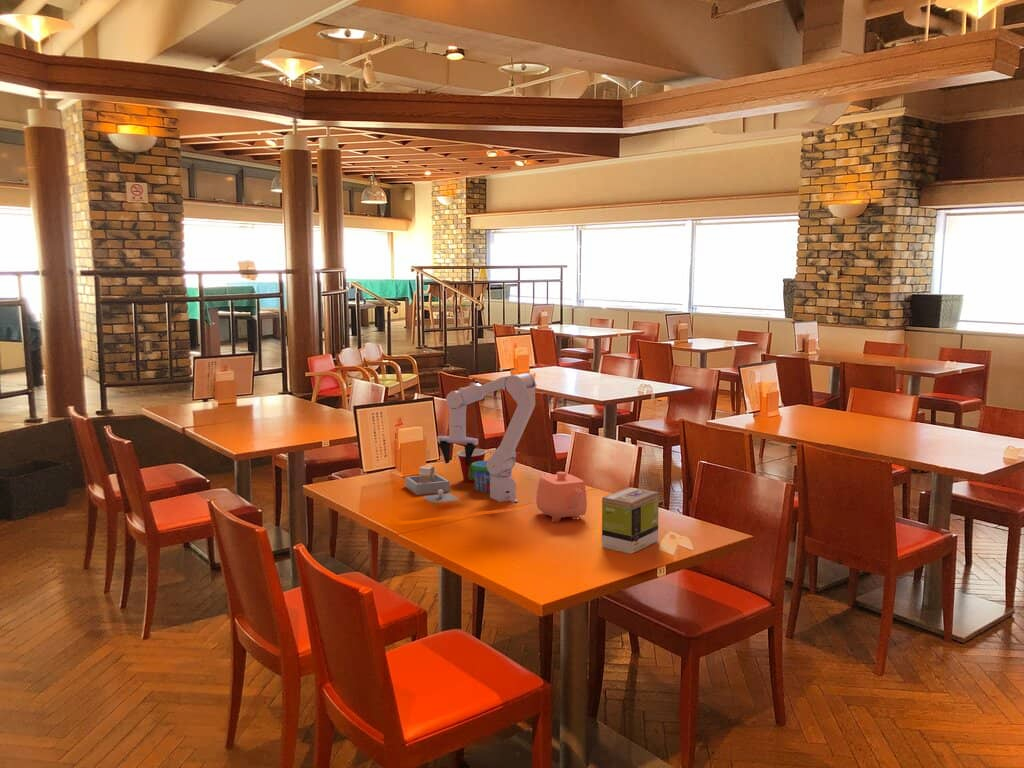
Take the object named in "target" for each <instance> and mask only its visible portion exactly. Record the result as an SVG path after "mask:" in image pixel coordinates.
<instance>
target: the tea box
mask: <svg viewBox="0 0 1024 768" xmlns="http://www.w3.org/2000/svg"><path fill="white" fill-rule="evenodd" d="M601 509H602V511H601V521H602V522H601V547H602V548H605V549H608V548H609V550H613V551H617V552H620V553H625V554H630V555H632V554H634V553H636V552H638V551H640V550H642V549H645V548H646V547H649V546H650V545H652V544H654V543H657V542H659V492H658V491H653V490H648V489H642V488H636V487H631V486H628V487H627V488H623V489H621V490H618V491H615V492H613V493H610V494H608V495H606V496H603V497H602V500H601Z"/></svg>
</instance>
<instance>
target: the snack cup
mask: <svg viewBox="0 0 1024 768" xmlns="http://www.w3.org/2000/svg"><path fill="white" fill-rule="evenodd" d="M486 463H487V460H484V461H478V462H474V463H472V465H471V466H470V468H469V473H468V478H469V479H470V480H472V479H473V478H474V479H475V482H474V485H475V490H476V491H477V492H481V493H490V473H489V471H488V470H487V467H486ZM473 473H474V475H473Z"/></svg>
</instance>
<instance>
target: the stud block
mask: <svg viewBox="0 0 1024 768" xmlns="http://www.w3.org/2000/svg"><path fill="white" fill-rule="evenodd" d="M421 497H422V498H423V499H425V500H427V501H428V502H429V503H431V504H435V503H436V504H437V503H445V502H454V501H461V499H459V498H458V497H456V496H455V495H453V494H452V493H450V492H443V490H438V493H432V494H423V495H421Z"/></svg>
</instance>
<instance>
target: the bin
mask: <svg viewBox="0 0 1024 768" xmlns="http://www.w3.org/2000/svg"><path fill="white" fill-rule="evenodd" d="M404 487H405V488H406V489H408V490H409V491H410V492H412V493H413V494H415V495H417V496H419V495H430V494H438V490H443V492H444V493H448V492H450V480H448V479H446V478H444V477H443V476H442V475H439V474H438V473H434V482H430V483H420V484H419V475H413V476H410V475H409V476H405V477H404Z"/></svg>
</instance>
